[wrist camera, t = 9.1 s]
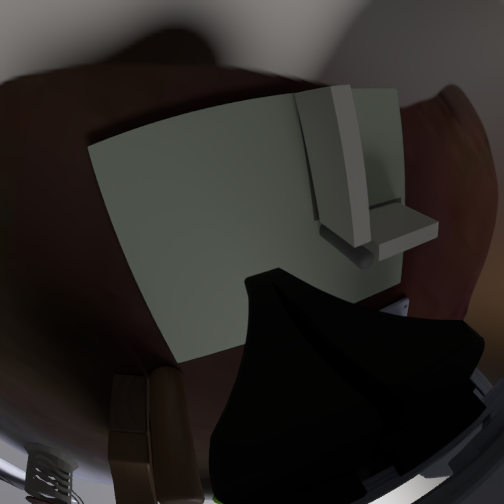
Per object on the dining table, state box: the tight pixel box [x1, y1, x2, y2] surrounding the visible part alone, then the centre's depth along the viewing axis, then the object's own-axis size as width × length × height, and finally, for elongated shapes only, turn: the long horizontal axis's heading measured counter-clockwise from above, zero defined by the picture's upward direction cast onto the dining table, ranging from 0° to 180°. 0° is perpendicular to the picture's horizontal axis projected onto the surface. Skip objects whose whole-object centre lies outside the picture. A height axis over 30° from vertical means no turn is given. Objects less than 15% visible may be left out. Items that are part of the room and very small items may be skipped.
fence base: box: [319, 202, 439, 270], centre depth 19 cm, size 1×8×5 cm, turn 102°
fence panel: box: [294, 84, 371, 248], centre depth 16 cm, size 9×1×4 cm, turn 15°
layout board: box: [88, 88, 405, 363], centre depth 20 cm, size 18×22×1 cm
